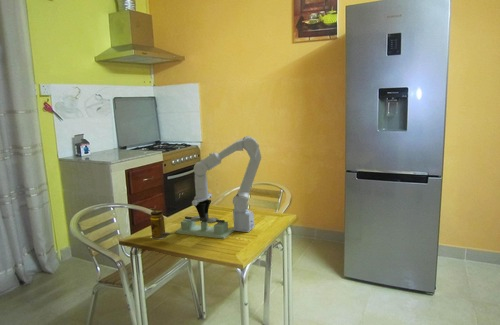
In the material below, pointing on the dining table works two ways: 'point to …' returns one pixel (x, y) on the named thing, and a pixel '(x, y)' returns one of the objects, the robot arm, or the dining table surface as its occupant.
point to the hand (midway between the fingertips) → (203, 216)
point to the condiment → (158, 225)
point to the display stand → (205, 229)
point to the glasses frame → (205, 219)
